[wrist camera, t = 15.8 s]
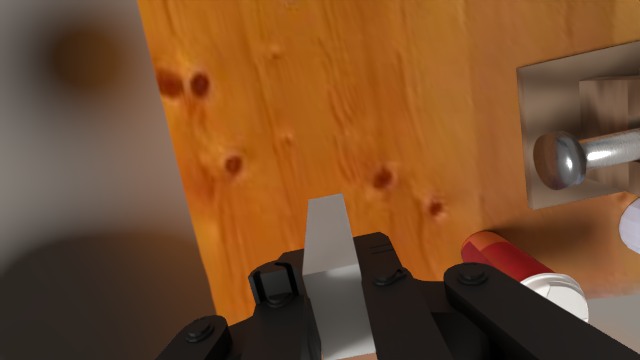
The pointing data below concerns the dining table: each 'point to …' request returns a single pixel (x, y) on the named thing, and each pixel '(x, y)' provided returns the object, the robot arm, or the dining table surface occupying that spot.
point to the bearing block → (581, 115)
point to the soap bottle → (631, 226)
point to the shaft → (581, 155)
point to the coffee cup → (526, 271)
